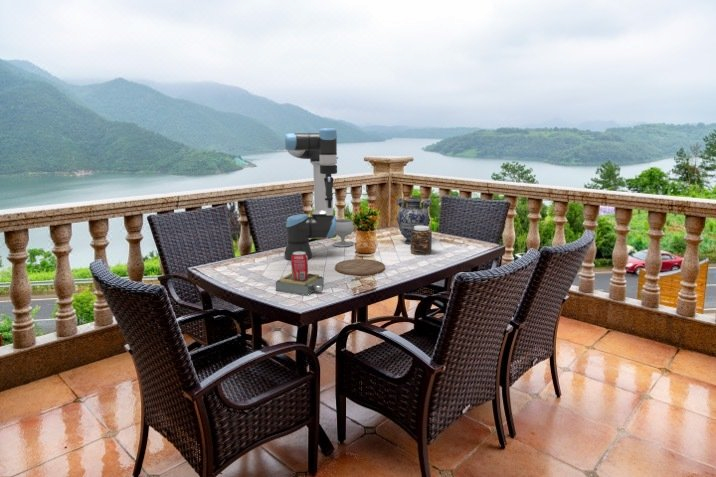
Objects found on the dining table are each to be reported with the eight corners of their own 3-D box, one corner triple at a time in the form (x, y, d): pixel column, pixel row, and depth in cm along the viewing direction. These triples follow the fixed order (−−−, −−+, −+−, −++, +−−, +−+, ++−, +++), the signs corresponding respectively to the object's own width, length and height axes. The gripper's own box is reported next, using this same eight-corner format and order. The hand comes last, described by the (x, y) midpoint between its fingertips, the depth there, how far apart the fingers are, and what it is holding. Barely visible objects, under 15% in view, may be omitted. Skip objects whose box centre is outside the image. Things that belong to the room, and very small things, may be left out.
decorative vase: (392, 244, 287) (393, 198, 282) (398, 238, 305) (400, 195, 299) (427, 247, 281) (429, 200, 276) (432, 241, 299) (434, 196, 293)
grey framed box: (275, 290, 205) (275, 279, 204) (293, 281, 218) (293, 270, 217) (316, 296, 197) (315, 285, 196) (331, 287, 210) (331, 275, 208)
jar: (430, 250, 274) (431, 224, 271) (431, 255, 263) (432, 229, 259) (410, 250, 275) (410, 224, 272) (410, 255, 264) (411, 228, 261)
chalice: (332, 242, 295) (331, 218, 292) (354, 242, 295) (354, 218, 292) (330, 247, 282) (329, 222, 278) (353, 247, 281) (353, 222, 278)
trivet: (393, 266, 243) (393, 263, 242) (369, 279, 222) (369, 275, 221) (351, 260, 255) (351, 256, 255) (325, 271, 234) (325, 268, 234)
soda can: (300, 276, 212) (299, 250, 210) (311, 279, 208) (310, 252, 205) (288, 279, 207) (287, 253, 204) (299, 282, 203) (298, 255, 200)
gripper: (338, 166, 195) (339, 217, 200) (335, 162, 220) (336, 208, 224) (320, 166, 195) (321, 217, 199) (319, 162, 219) (320, 208, 224)
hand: (329, 212), depth 212 cm, fingers open, 13 cm apart
